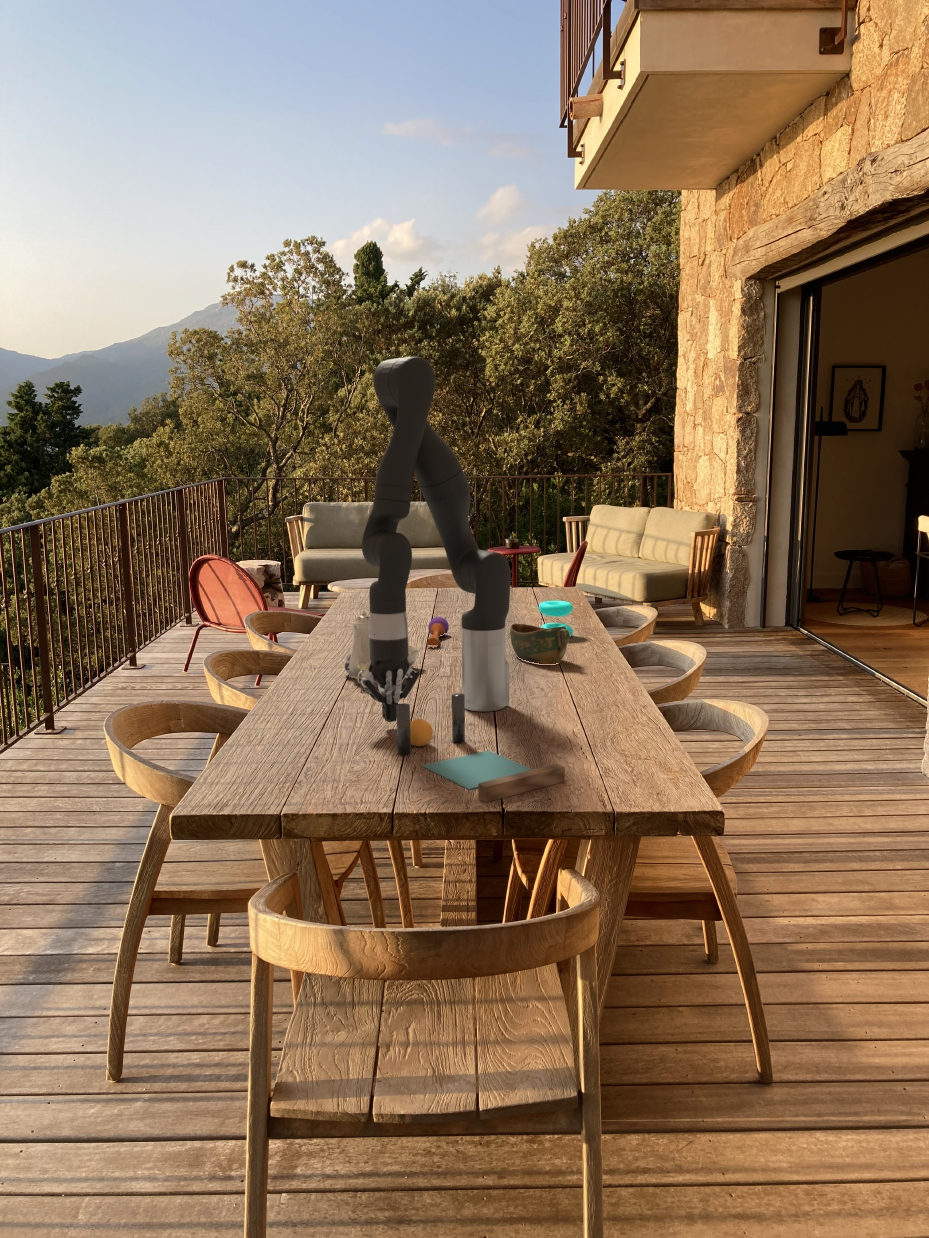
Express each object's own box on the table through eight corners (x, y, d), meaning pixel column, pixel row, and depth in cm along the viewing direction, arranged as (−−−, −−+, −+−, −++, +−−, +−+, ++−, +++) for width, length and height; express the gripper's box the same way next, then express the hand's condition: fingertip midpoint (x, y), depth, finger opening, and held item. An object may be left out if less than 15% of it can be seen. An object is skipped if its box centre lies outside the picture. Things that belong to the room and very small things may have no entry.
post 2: (460, 738, 178) (459, 692, 176) (467, 741, 176) (467, 695, 174) (449, 741, 176) (449, 694, 175) (456, 744, 174) (456, 697, 173)
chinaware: (391, 699, 213) (397, 627, 210) (322, 688, 216) (326, 618, 213) (423, 671, 240) (428, 607, 237) (360, 661, 243) (365, 599, 240)
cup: (521, 670, 232) (521, 630, 230) (507, 654, 251) (508, 617, 250) (572, 669, 233) (573, 629, 232) (555, 653, 253) (555, 616, 251)
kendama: (420, 634, 259) (427, 616, 278) (424, 655, 260) (431, 635, 279) (441, 631, 258) (447, 613, 277) (445, 651, 259) (451, 632, 279)
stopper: (556, 777, 156) (556, 763, 156) (564, 781, 155) (564, 766, 154) (478, 798, 147) (478, 783, 147) (485, 802, 146) (485, 787, 145)
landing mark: (488, 751, 170) (488, 750, 170) (536, 772, 159) (536, 771, 159) (422, 766, 162) (422, 765, 162) (469, 789, 151) (469, 788, 151)
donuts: (579, 603, 270) (549, 606, 265) (579, 638, 271) (549, 641, 267) (561, 599, 278) (532, 601, 274) (561, 632, 280) (532, 635, 276)
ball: (426, 745, 177) (420, 719, 177) (440, 741, 173) (434, 714, 173) (404, 750, 174) (398, 724, 174) (417, 745, 170) (411, 718, 171)
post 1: (406, 750, 171) (405, 702, 170) (413, 753, 169) (412, 705, 168) (395, 752, 170) (393, 704, 168) (401, 756, 168) (400, 707, 166)
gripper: (367, 641, 175) (370, 731, 178) (427, 633, 182) (429, 719, 185) (348, 635, 181) (351, 722, 184) (407, 627, 188) (409, 711, 191)
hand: (390, 720), depth 185 cm, fingers closed
